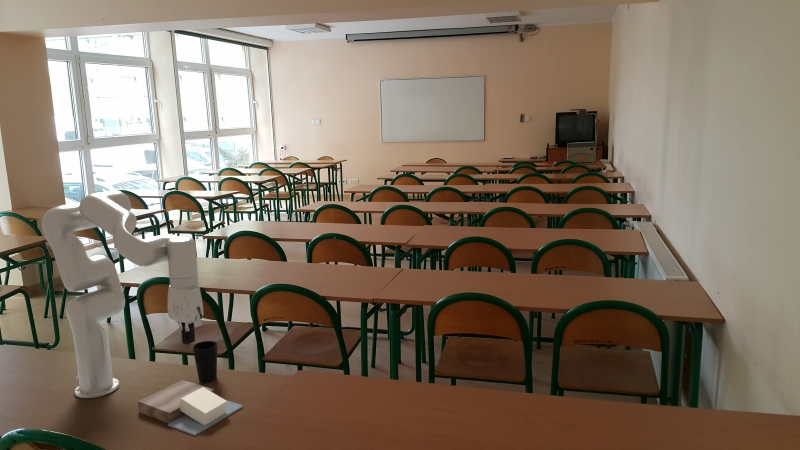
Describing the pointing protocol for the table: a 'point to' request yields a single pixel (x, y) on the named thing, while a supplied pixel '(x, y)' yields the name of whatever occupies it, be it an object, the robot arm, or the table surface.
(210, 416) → the cream rectangular block
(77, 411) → the table surface
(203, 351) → the cup
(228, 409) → the mat
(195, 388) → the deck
